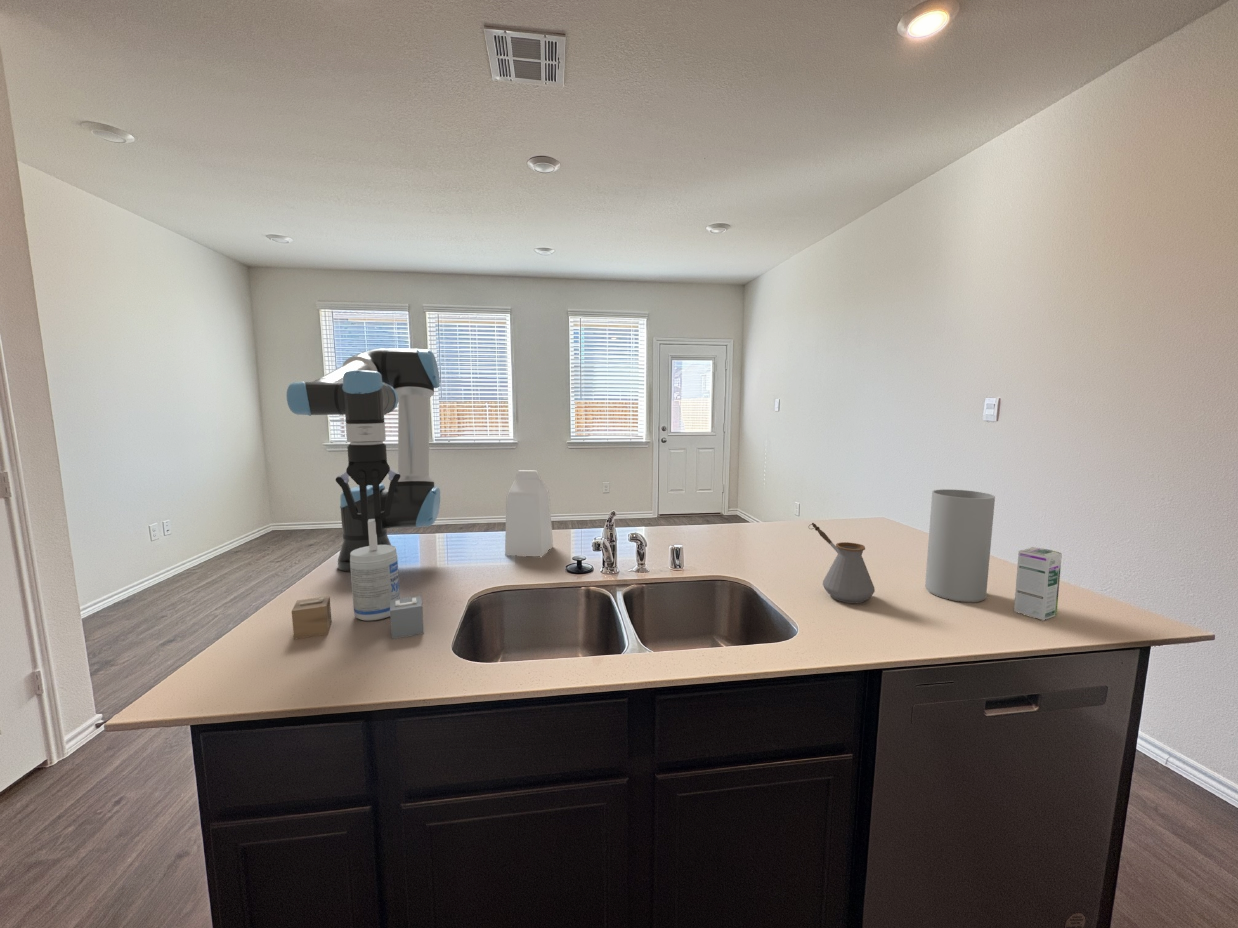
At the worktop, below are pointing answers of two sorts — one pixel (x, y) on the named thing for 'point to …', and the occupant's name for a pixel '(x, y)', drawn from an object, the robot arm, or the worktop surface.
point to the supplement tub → (374, 581)
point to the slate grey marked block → (406, 617)
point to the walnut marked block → (311, 617)
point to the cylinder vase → (959, 544)
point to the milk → (528, 516)
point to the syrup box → (1037, 582)
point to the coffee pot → (847, 573)
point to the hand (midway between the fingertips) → (373, 548)
